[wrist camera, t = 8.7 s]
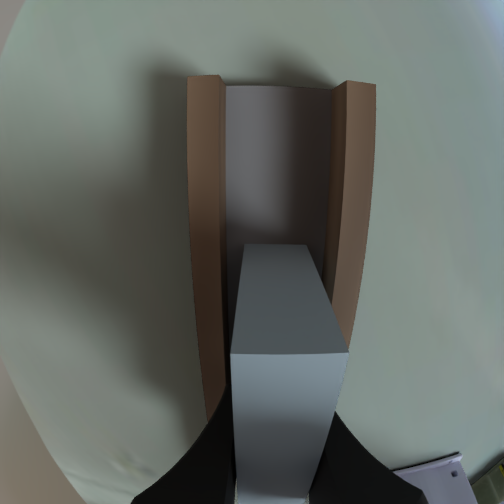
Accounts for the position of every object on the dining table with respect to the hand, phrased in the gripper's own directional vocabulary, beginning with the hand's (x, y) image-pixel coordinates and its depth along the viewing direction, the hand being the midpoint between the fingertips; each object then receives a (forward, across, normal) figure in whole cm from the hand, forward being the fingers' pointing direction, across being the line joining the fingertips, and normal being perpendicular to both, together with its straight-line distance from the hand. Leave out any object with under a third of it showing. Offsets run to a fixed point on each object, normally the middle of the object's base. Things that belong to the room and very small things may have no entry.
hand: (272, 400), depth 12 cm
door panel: (+3, 0, 0) cm, 3 cm away
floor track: (+4, 0, 0) cm, 4 cm away
